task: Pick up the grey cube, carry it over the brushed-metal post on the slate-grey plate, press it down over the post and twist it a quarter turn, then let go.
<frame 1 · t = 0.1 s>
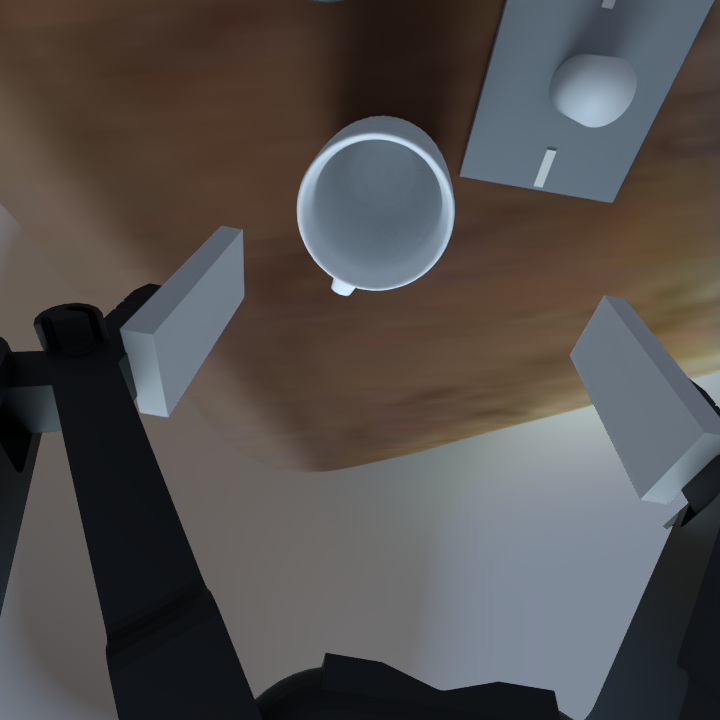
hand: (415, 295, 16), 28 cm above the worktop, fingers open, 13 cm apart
mug: (379, 182, 40), on the worktop
post plate: (572, 83, 34), on the worktop
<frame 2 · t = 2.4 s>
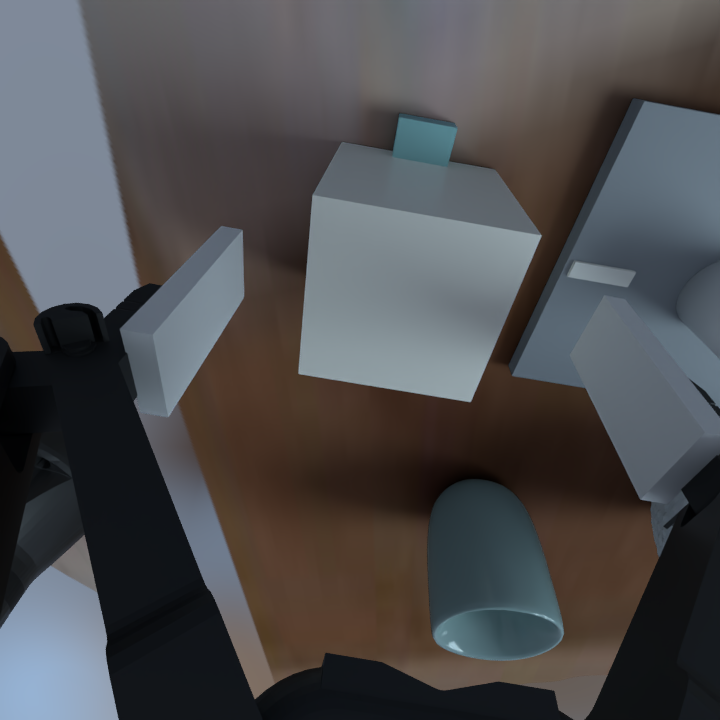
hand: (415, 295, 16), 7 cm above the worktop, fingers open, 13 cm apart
mug: (715, 478, 31), on the worktop
cup: (473, 493, 34), on the worktop
post plate: (710, 284, 22), on the worktop
grey cube: (402, 230, 21), on the worktop
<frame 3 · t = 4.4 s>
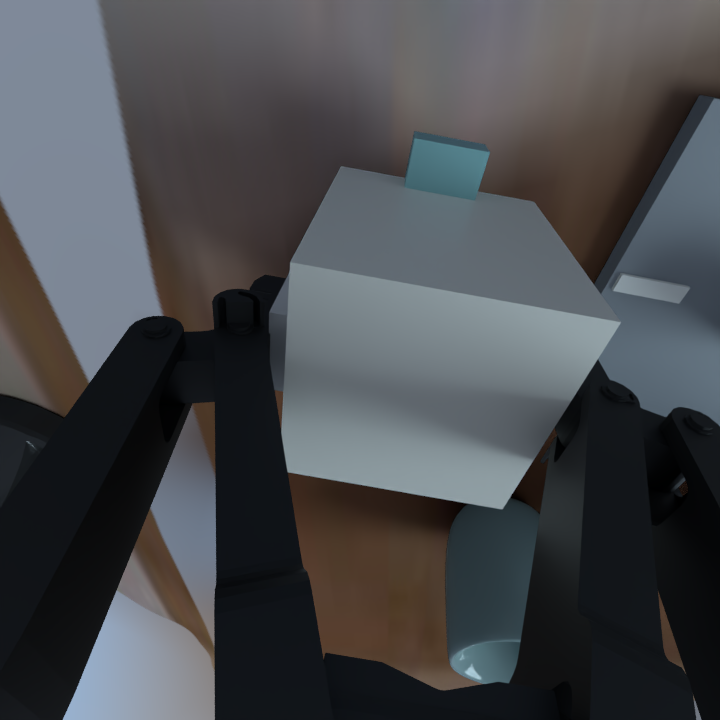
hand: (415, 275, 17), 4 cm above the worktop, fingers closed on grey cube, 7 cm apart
cup: (495, 510, 32), on the worktop
grey cube: (415, 272, 17), point 3 cm above the worktop, touching gripper
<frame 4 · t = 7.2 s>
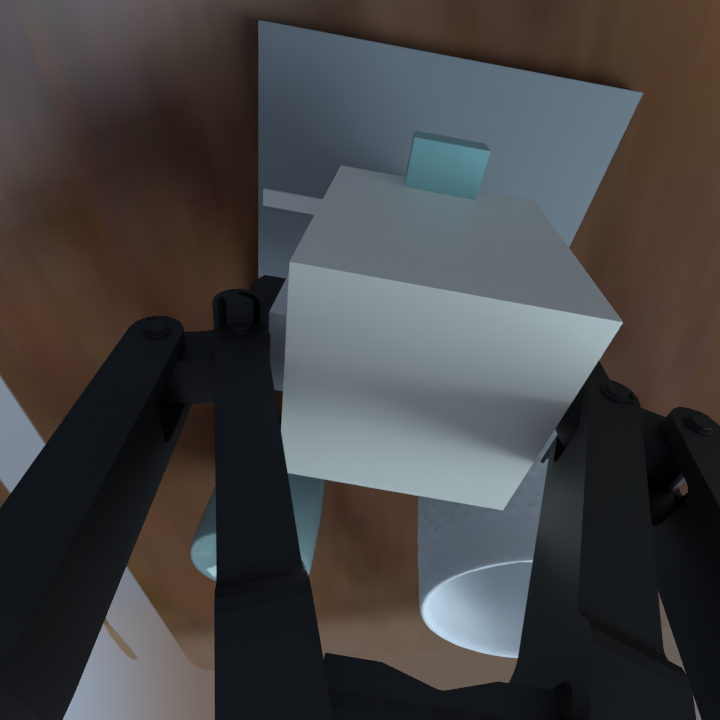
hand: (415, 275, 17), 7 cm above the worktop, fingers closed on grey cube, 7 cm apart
mug: (504, 426, 31), on the worktop
cup: (286, 442, 35), on the worktop
post plate: (413, 216, 22), on the worktop
grey cube: (415, 272, 17), point 7 cm above the worktop, touching gripper
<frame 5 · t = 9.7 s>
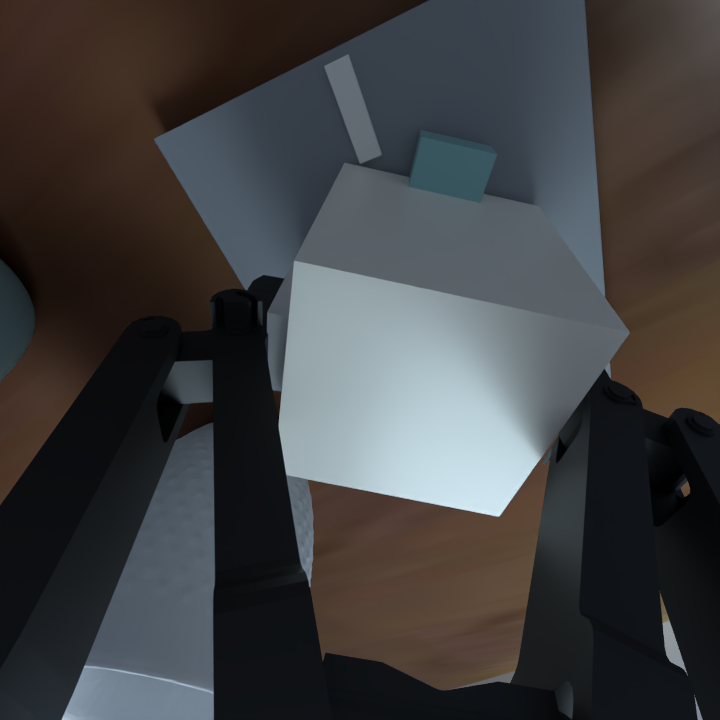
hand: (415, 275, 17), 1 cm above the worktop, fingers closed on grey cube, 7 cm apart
mug: (252, 463, 28), on the worktop
post plate: (412, 264, 18), on the worktop
grey cube: (416, 273, 17), point 1 cm above the worktop, touching gripper
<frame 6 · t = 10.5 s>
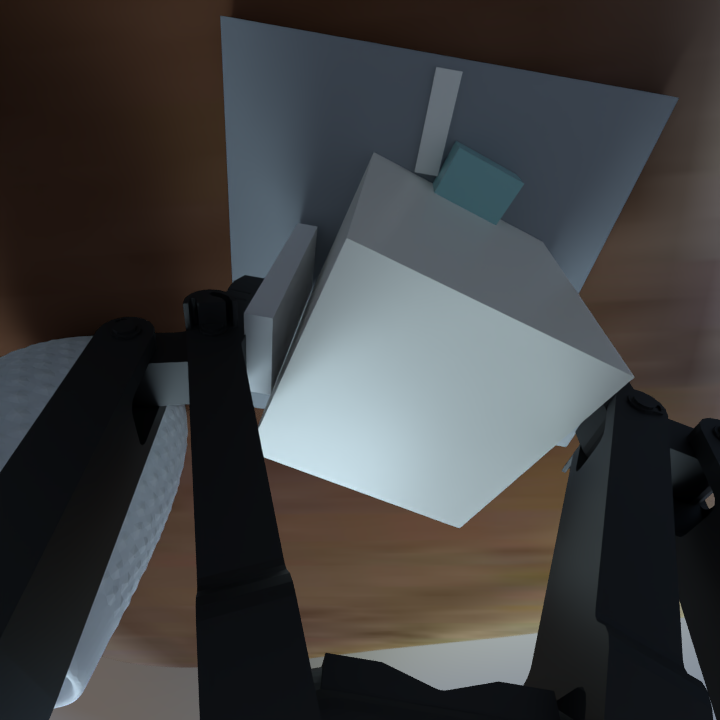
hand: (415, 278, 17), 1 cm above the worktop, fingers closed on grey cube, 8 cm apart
mug: (124, 395, 24), on the worktop
post plate: (399, 281, 18), on the worktop
grey cube: (413, 278, 17), point 1 cm above the worktop, touching gripper, post plate
when the fingers open (1 cm above the worktop, at t = 10.6 s): grey cube stays where it is, resting on post plate.
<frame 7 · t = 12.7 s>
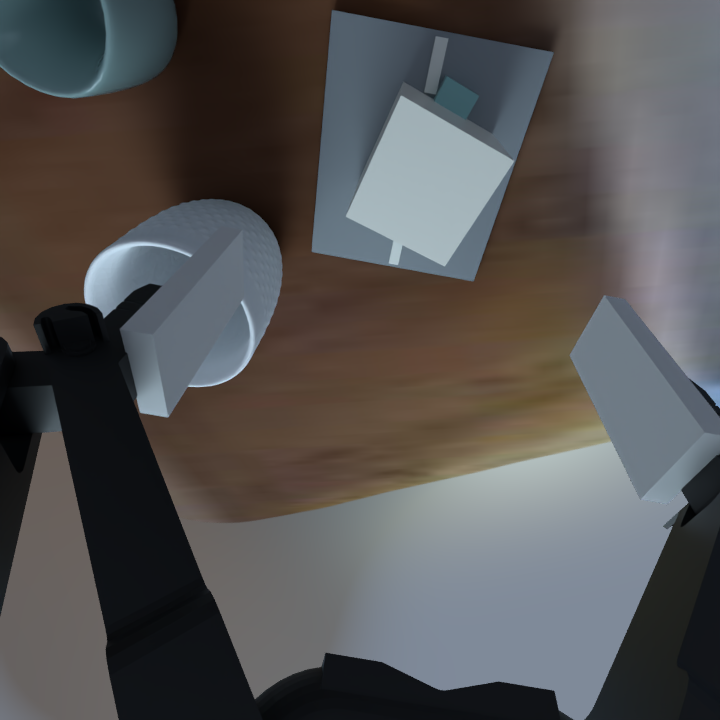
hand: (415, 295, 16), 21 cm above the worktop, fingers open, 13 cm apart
mug: (235, 253, 38), on the worktop
cup: (138, 12, 28), on the worktop
post plate: (414, 164, 32), on the worktop
grey cube: (422, 158, 31), point 1 cm above the worktop, touching post plate
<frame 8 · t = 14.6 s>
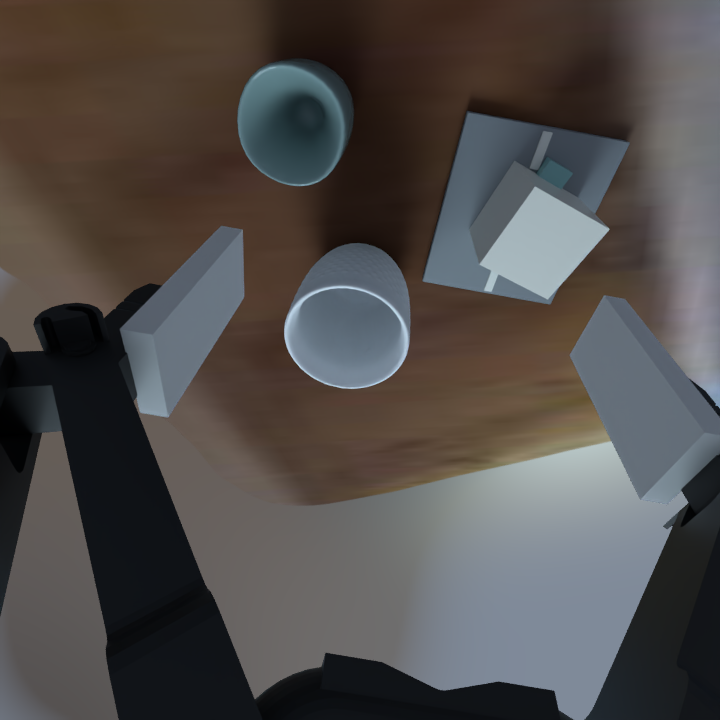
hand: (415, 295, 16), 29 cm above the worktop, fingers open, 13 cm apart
mug: (356, 281, 48), on the worktop
cup: (316, 109, 38), on the worktop
post plate: (512, 216, 42), on the worktop
grey cube: (521, 213, 40), point 1 cm above the worktop, touching post plate
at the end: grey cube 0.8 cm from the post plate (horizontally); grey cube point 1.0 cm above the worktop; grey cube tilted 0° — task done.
